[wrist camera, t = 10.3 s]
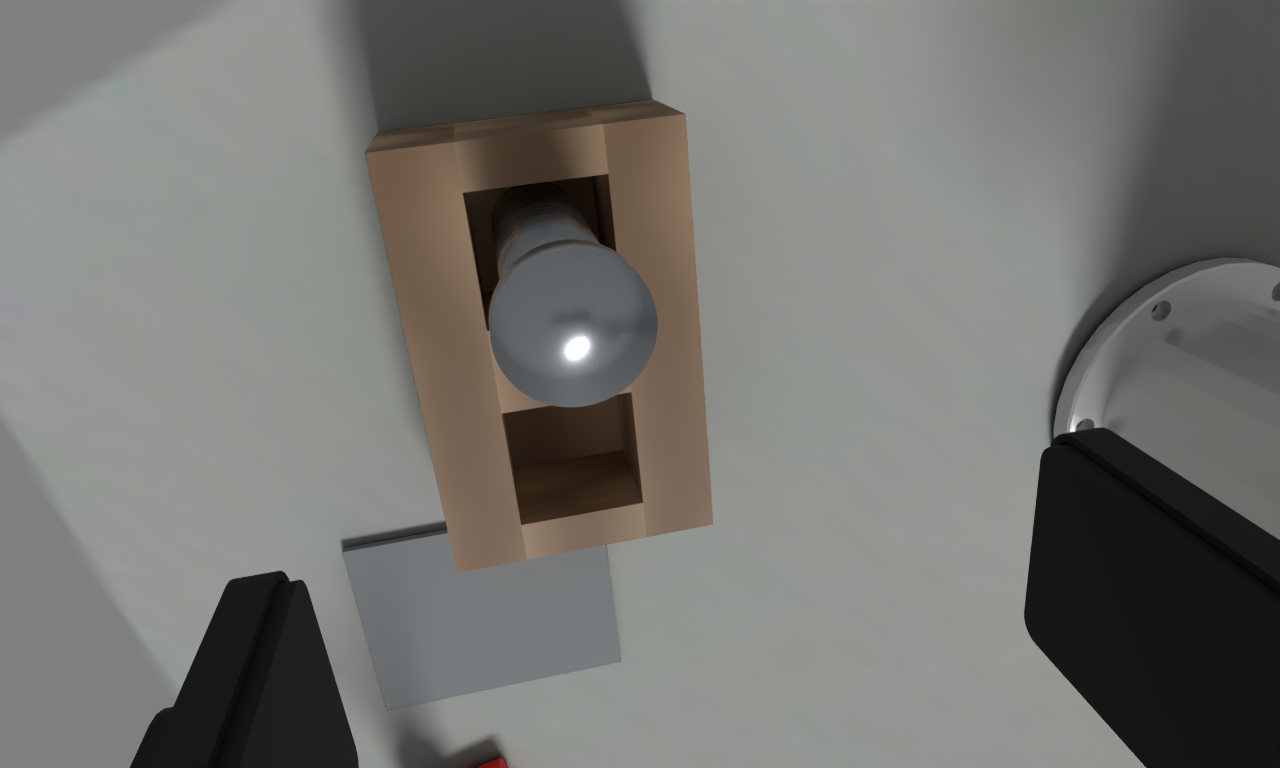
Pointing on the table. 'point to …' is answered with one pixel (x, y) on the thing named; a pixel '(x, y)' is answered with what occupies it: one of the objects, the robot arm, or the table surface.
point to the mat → (478, 617)
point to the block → (461, 347)
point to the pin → (564, 302)
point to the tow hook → (495, 764)
